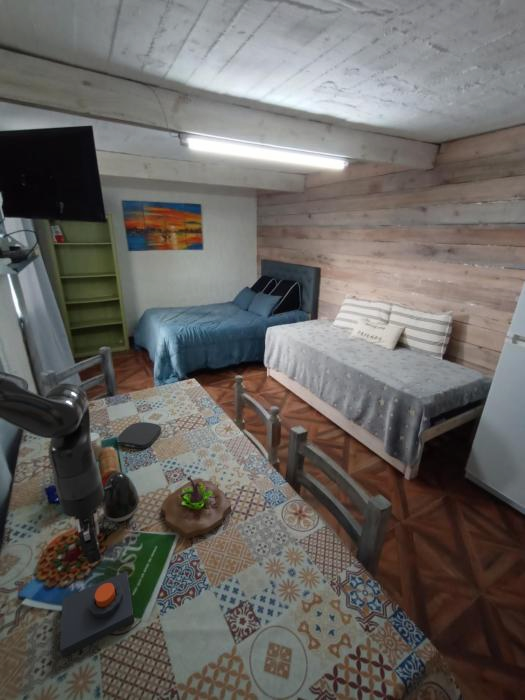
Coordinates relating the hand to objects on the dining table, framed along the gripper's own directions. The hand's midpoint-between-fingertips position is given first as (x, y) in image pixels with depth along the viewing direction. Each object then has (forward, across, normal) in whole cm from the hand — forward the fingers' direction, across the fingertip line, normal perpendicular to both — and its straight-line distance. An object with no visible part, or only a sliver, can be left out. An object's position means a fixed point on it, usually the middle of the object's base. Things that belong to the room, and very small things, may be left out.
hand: (94, 543), depth 67 cm
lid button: (+17, +1, 0) cm, 17 cm away
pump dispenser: (+21, -26, +6) cm, 34 cm away
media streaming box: (+21, -64, +18) cm, 70 cm away
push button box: (+21, 0, -2) cm, 21 cm away
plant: (+21, -17, +27) cm, 38 cm away
